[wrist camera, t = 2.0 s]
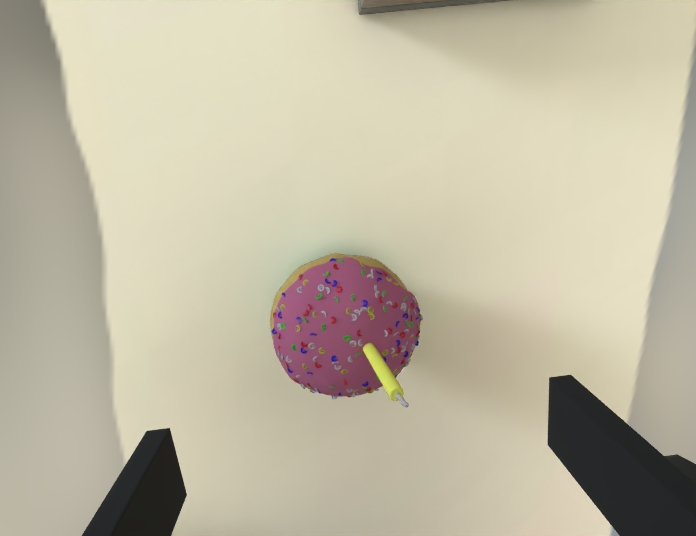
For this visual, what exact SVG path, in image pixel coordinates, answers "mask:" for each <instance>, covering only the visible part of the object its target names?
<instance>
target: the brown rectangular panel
mask: <svg viewBox="0 0 696 536" xmlns="http://www.w3.org/2000/svg"><path fill="white" fill-rule="evenodd" d="M494 1H505V0H358V5H359V14H370V13H380V12H390V11H401V10H411V9H421V8H432V7H442V6H453V5H463V4H473V3H484V2H494Z"/></svg>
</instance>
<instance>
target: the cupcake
mask: <svg viewBox="0 0 696 536" xmlns="http://www.w3.org/2000/svg"><path fill="white" fill-rule="evenodd" d="M421 320H422V315H421V314H420V309H419V307H418V303H417V301H416V298H415V297H414V295H413V294H412V293H410V292H408V291H407V289H406V287H405V286H404V284H403V283H402V281H401V280H400V279H399V277H398V276H397V275H396V274H394V273H393V272H392V271H391V270H389V269H388V268H387V267H386V266H385V265H383V264H382V263H381V262H379V261H377V260H375V259H372V258H369V257H364V256H357V255H344V254H330V255H327V256H324V257H322V258H319V259H317V260H315V261H312V262H310V263H307V264H305V265H302V266H301V267H299V268H297V269H296V270H295V271H294V272H293V273H292V274H291V276H290V277H289V278H288V279H287V281H286V282H285V283H284V284H283V285H282V286H281V288H280V289H279V291H278V292H277V294H276V296H275V299H274V302H273V306H272V310H271V317H270V327H271V333H272V338H273V343H274V348H275V351H276V354H277V356H278V358H279V360H280V362H281V364H282V366H283V368H284V370H285V371H286V373H287V374H288V375H289V377H290V378H291V379H292V380H293V381H295V382H297V383H299V384H301V386H302V387H303V388H304V389H305V387H307V388H309V389H310V391H311V392H312V393H315V392H319V393H322V394H326V395H331V396H332V399H336V398H337V396H347V397H355V396H357V395H361V394H365V393H372V392H373V391H374V390H379V389H377V388H379V387H381V386H383V387H384V388H385V390H386V392H387V394H388V395H389V397H390V399H392V400H394V401H398V400H399V401H400V403H401V404H402V405H403V406H404V407H408V406H409V404H408V403H407V402H406V401H405V400H404V398H403V394H404V392H403V389H402V388H401V386H400V385H399V383H398V381H397V380H396V376H397V375H398V374H399V373H400V372H401V370H402V368H403V367H405V366H407V365H408V364H409V362H410V359H409V358H410V357H411V355H412V352H413V350H414V348H415V346H417V345H418V343H419V342H418V339H419V337H420V336H419V333H420V331H419V330H420V321H421ZM408 360H409V361H408ZM405 364H406V365H405ZM304 386H305V387H304ZM333 396H334V397H335V396H336V397H335V398H333Z"/></svg>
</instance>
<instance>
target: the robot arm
mask: <svg viewBox="0 0 696 536" xmlns="http://www.w3.org/2000/svg"><path fill="white" fill-rule="evenodd" d="M548 446H549V447H550V448H551V449H552V451H553V452H554V453H555V454H556V456H557V457H558V458H559V459H560V461H561V462H562V463H563V465H564V466H565V467H566V468H567V470H568V471H569V472H570V473H571V475H572V476H573V477H574V478H575V480H576V481H577V482H578V484H579V485H580V486H581V487H582V489H583V490H584V491H585V492H586V494H587V495H588V496H589V497H590V499H591V500H592V501H593V502H594V504H595V505H596V506H597V508H598V509H599V510H600V511H601V513H602V514H603V515H604V516H605V518H606V519H607V520H608V521H609V523H610V524H611V525H612V527H613V528H614V529H615V530H616V532H617V533H618V534H619V535H620V536H696V464H694V463H692V462H691V461H688V460H687V459H685V458H683V457H681V456H679V455H671V456H663V455H662V454H661V453H660V452H658V450H656V449H655V448H654V447H653V446H652V445H651V444H649V443H648V442H647V441H646V440H645V439H644V438H643V437H641V436H640V435H639V434H638V433H637V432H636V431H635V430H633V429H632V428H631V427H630V426H629V425H628V424H627V423H625V422H624V421H623V420H622V419H621V418H620V417H619V416H617V415H616V414H615V413H614V412H613V411H612V410H611V409H609V408H608V407H607V406H606V405H605V404H604V403H603V402H601V401H600V400H599V399H598V398H597V397H596V396H594V395H593V394H592V393H591V392H590V391H589V390H588V389H586V388H585V387H584V386H583V385H582V384H581V383H580V382H578V381H577V380H576V379H575V378H574V377H573V376H572V375H566V376H558V377H551V378H549V413H548ZM186 495H187V494H186V490H185V486H184V482H183V478H182V474H181V470H180V466H179V462H178V459H177V455H176V451H175V447H174V443H173V439H172V435H171V431H170V428H167V429H159V430H152V431H147V432H146V433H145V435H144V436H143V438H142V440H141V441H140V443H139V444H138V446H137V448H136V449H135V451H134V452H133V454H132V456H131V457H130V459H129V461H128V462H127V464H126V465H125V467H124V469H123V470H122V472H121V473H120V475H119V477H118V478H117V480H116V481H115V483H114V485H113V486H112V488H111V490H110V491H109V493H108V494H107V496H106V498H105V499H104V501H103V502H102V504H101V506H100V507H99V509H98V510H97V512H96V514H95V515H94V517H93V518H92V520H91V522H90V524H89V525H88V527H87V528H86V530H85V531H84V533H83V535H82V536H171V534H172V532H173V529H174V526H175V524H176V521H177V519H178V516H179V513H180V511H181V508H182V506H183V503H184V501H185V498H186Z"/></svg>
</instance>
